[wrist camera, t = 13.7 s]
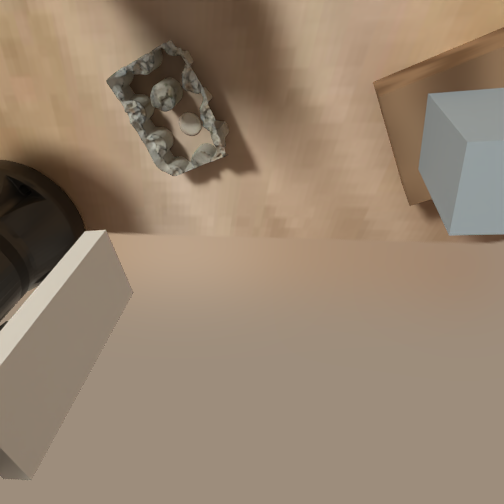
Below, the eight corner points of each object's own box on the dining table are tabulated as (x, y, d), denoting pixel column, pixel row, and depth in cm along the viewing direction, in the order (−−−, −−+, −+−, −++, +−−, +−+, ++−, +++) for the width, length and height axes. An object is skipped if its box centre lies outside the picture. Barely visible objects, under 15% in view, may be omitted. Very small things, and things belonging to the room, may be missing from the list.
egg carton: (239, 144, 39) (231, 161, 36) (175, 168, 42) (162, 186, 39) (187, 31, 34) (172, 38, 31) (117, 67, 37) (97, 77, 33)
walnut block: (401, 180, 39) (409, 205, 35) (372, 81, 34) (378, 96, 30) (516, 143, 35) (541, 166, 31) (503, 26, 31) (529, 36, 27)
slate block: (418, 169, 33) (449, 235, 25) (428, 93, 30) (467, 142, 22) (497, 165, 32) (556, 233, 24) (517, 86, 29) (593, 134, 20)
